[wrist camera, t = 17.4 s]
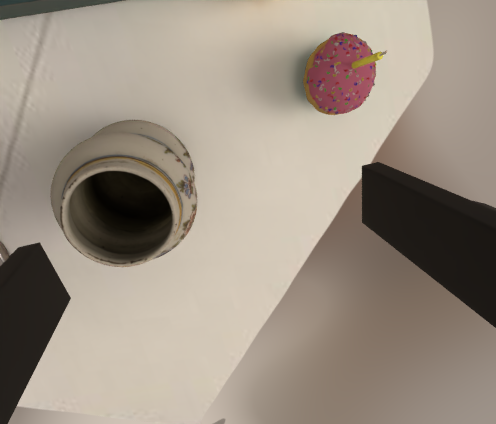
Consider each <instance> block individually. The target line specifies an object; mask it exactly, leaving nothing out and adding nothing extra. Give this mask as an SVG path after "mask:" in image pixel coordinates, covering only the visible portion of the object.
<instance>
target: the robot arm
mask: <svg viewBox="0 0 496 424" xmlns="http://www.w3.org/2000/svg"><path fill="white" fill-rule="evenodd" d="M362 223H363V224H365V225H366V226H367V227H368V228H370V229H371V230H373V231H374V232H375V233H376V234H377V235H379V236H380V237H381V238H382V239H384V240H385V241H386V242H388V243H389V244H390V245H391V246H393V247H394V248H395V249H396V250H398V251H399V252H400V253H402V254H403V255H404V256H405V257H407V258H408V259H409V260H411V261H412V262H413V263H414V264H415V265H417V266H418V267H419V268H420V269H422V270H423V271H424V272H426V273H427V274H428V275H429V276H431V277H432V278H433V279H434V280H436V281H437V282H439V283H440V284H441V285H442V286H443V287H445V288H446V289H447V290H448V291H450V292H451V293H452V294H454V295H455V296H456V297H457V298H459V299H460V300H461V301H462V302H464V303H465V304H466V305H467V306H469V307H470V308H471V309H472V310H474V311H475V312H476V313H478V314H479V315H480V316H481V317H483V318H484V319H485V320H486V321H488V322H489V323H490V324H491V325H493V326H494V327H495V328H496V208H494V207H492V206H489V205H487V204H484V203H479V202H475V201H471V200H468V199H466V198H463V197H461V196H459V195H456V194H454V193H451V192H449V191H447V190H444V189H442V188H439V187H437V186H434V185H432V184H430V183H428V182H425V181H423V180H420V179H418V178H416V177H413V176H411V175H408V174H406V173H404V172H401V171H399V170H396V169H394V168H392V167H389V166H387V165H384V164H382V163H379V162H377V163H372V164H368V165H364V166H362ZM70 299H71V298H70V296H69V294H68V292H67V291H66V289H65V287H64V285H63V283H62V282H61V280H60V278H59V276H58V274H57V273H56V271H55V269H54V267H53V265H52V264H51V262H50V260H49V258H48V257H47V255H46V253H45V251H44V249H43V248H42V246H41V244H40V243H35V244H31V245H27V246H23V247H19V248H17V249H16V250H15V251H14V253H13V254H12V255H11V256H9V253H8V252H7V250H6V248H5V247H4V245H3V244H2V243H1V242H0V424H8V422H9V420H10V418H11V416H12V414H13V412H14V410H15V408H16V406H17V404H18V402H19V400H20V398H21V396H22V394H23V392H24V390H25V388H26V386H27V384H28V382H29V380H30V378H31V376H32V374H33V372H34V370H35V368H36V366H37V364H38V362H39V360H40V358H41V356H42V355H43V353H44V351H45V349H46V347H47V345H48V343H49V341H50V339H51V337H52V335H53V333H54V331H55V329H56V327H57V325H58V323H59V321H60V319H61V317H62V315H63V313H64V311H65V309H66V307H67V305H68V303H69V301H70Z"/></svg>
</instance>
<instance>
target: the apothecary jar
mask: <svg viewBox="0 0 496 424" xmlns="http://www.w3.org/2000/svg"><path fill="white" fill-rule="evenodd" d="M51 204H52V209H53V212H54V215H55V218H56V220H57V222H58V224H59V226H60V227H61V229H62V230H63V232H64V234H65V236H66V238H67V240H68V241H69V242H70V243H71V245H72V246H73V247H74V248H75V249H77V250H78V251H79V252H80V253H81V254H83V255H84V256H86V257H87V258H89V259H91V260H93V261H95V262H98V263H101V264H104V265H109V266H115V267H129V266H135V265H139V264H142V263H145V262H147V261H150V260H152V259H155V258H158V257H160V256H162V255H164V254H166V253H167V252H169V251H170V250H172V249H173V248H174V247H176V246H177V245H178V244H179V243H180V242H181V241H182V240H183V239H184V237H185V236H186V235H187V233H188V232H189V230H190V228H191V226H192V224H193V222H194V219H195V215H196V210H197V193H196V187H195V184H194V167H193V163H192V160H191V158H190V155H189V153H188V151H187V150H186V148H185V147H184V145H183V144H182V143H181V142H180V140H179V139H178V138H177V137H176V136H175V135H173V134H172V133H171V132H170V131H168V130H167V129H165V128H163V127H161V126H159V125H157V124H154V123H151V122H147V121H141V120H127V121H120V122H116V123H113V124H110V125H108V126H106V127H104V128H102V129H101V130H100V131H98V132H97V133H96V134H95V135H94V136H93V137H92V138H89V139H87V140H85V141H83V142H81V143H80V144H78V145H77V146H75V147H74V148H73V149H72V150H71V151H70V152H69V153H68V154H67V155H66V156H65V157H64V158H63V160H62V161H61V162H60V164H59V166H58V167H57V169H56V172H55V174H54V177H53V180H52V185H51Z"/></svg>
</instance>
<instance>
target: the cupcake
mask: <svg viewBox="0 0 496 424" xmlns="http://www.w3.org/2000/svg"><path fill="white" fill-rule="evenodd" d="M365 42H366V41H363V40H361V39H360V38H358V37H357V35H353V34H352V35H351V34H347V33H344V32H342V33H339V34H335V35H333V36H331V37H330V38H329V39H328V40H326V41H325V42H323V43H321V44H320V45H319V46H318V47H317V48H316V49H315V51H314V52H313V53H312V54H311V55H310V57H309V59H308V62H307V65H306V70H305V75H304V79H303V83H304V88H305V92H306V96H307V99H308V101H309V102H310V103H311V104H312V105H313V106H314V107H315V109H317V110H318V111H319V112H321V113H324V114H328V115H337V114H344V113H347V112H350V111H352V110H354V109H356V108H358V107H359V106H361V104H362V103H363V102H364V101H365V100H366V97H368V96H369V93H370V91H371V88H372V86H374V85H375V84H373V83H374V79H375V76H376V63H375V61H377V60H380V59H382V57H383V55H384V54H386V53H387V51H385V52H383V53H382V52H378V53H375V54H373V53H372V50H371V49H370V47H369V46H368V45H367V43H365Z"/></svg>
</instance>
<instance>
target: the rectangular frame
mask: <svg viewBox="0 0 496 424" xmlns="http://www.w3.org/2000/svg"><path fill="white" fill-rule="evenodd" d="M118 1H124V0H0V20H2V19H8V18H15V17H21V16H27V15H34V14H40V13H47V12H53V11H60V10H66V9H73V8H79V7H85V6H92V5H98V4H105V3H111V2H118Z"/></svg>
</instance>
